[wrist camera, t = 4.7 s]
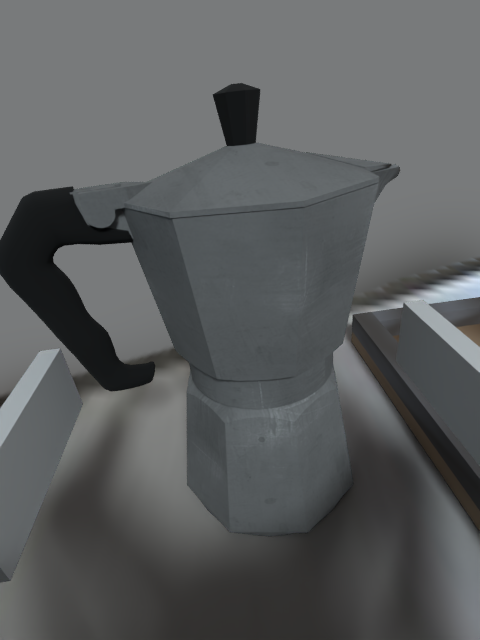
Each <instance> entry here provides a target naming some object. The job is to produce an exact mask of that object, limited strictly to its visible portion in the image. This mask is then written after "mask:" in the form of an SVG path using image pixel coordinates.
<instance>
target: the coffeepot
mask: <svg viewBox="0 0 480 640" xmlns="http://www.w3.org/2000/svg"><path fill="white" fill-rule="evenodd" d="M213 97H214V101H215V104H216V108H217V112H218V115H219V119H220V122H221V126H222V130H223V134H224V137H225V141H226V145H227V146H226V147H223V148H221V149H219V150H217V151H214V152H212V153H210V154H208V155H205V156H203V157H201V158H199V159H197V160H194V161H192V162H190V163H188V164H185V165H183V166H181V167H179V168H177V169H174V170H172V171H170V172H168V173H166V174H163V175H161V176H159V177H157V178H155V179H152V180H150V181H148V182H120V183H113V184H106V185H99V186H93V187H85V188H80V189H73V187H65V188H58V189H50V190H43V191H35V192H32V193H30V194H28V195H26V196H24V197H23V198H22V199H21V201H20V203H19V205H18V207H17V209H16V211H15V213H14V215H13V216H12V218H11V220H10V223H9V225H8V226H7V228H6V230H5V232H4V234H3V236H2V238H1V240H0V275H1V276H2V277H3V278H4V280H5V281H6V282H7V284H8V285H9V286H10V288H11V289H13V291H14V292H15V293H16V294H17V295H19V297H20V298H22V300H23V301H24V302H26V304H27V305H28V306H29V307H30V308H31V309H32V310H33V311H34V312H35V313H36V314H37V315H38V316H39V318H40V319H41V320H42V321H44V323H45V324H46V325H47V326H48V328H50V330H51V331H52V332H53V333H54V334H55V335H56V337H57V338H58V339H59V340H60V341H61V342H62V343H63V344H64V345H65V346H66V347H67V348H68V349H69V350H70V351H71V353H72V354H74V356H75V357H76V358H77V359H78V360H79V361H80V363H81V364H82V365H83V366H84V367H85V368H86V369H87V370H88V372H89V373H90V374H91V375H92V376H93V377H94V378H95V379H96V380H97V381H98V382H99V383H100V384H101V386H102V387H103V388H104V389H106V390H109V391H119V390H125V389H130V388H134V387H138V386H141V385H144V384H147V383H150V382H151V381H152V380H153V377H154V373H155V364H154V362H149V363H146V364H137V365H128V364H124V363H123V362H121V361H120V360H119V359H118V357H117V356H116V353H115V349H114V346H113V344H112V341H111V338H110V336H109V334H108V332H107V331H106V330H105V329H104V328H103V327H102V326H101V325H100V324H99V323H97V322H96V321H95V320H94V319H93V318H92V317H91V316H90V315H89V313H88V312H87V310H86V309H85V307H84V304H83V303H82V300H81V298H80V296H79V294H78V292H77V290H76V289H75V287H74V285H73V284H72V282H71V281H70V279H69V278H68V277H67V276H66V275H65V273H64V272H62V271H61V270H60V269H59V268H58V267H57V266H56V265H55V264H54V262H53V256H54V253H55V252H56V251H57V249H58V248H60V247H62V246H64V245H74V244H98V245H101V244H115V243H129V242H132V245H133V247H134V249H135V252H136V255H137V257H138V260H139V262H140V265H141V267H142V269H143V272H144V274H145V277H146V279H147V282H148V284H149V286H150V289H151V292H152V294H153V296H154V299H155V301H156V304H157V306H158V309H159V311H160V314H161V316H162V318H163V320H164V323H165V326H166V328H167V331H168V333H169V335H170V338H171V340H172V343H173V345H174V348H175V350H176V351H177V352H178V353H179V354H180V355H181V356H182V357H183V358H184V359H186V360H187V361H188V362H189V364H190V370H191V372H190V376H189V381H188V388H187V485H188V486H189V487H190V489H191V490H192V491H193V492H194V493H195V494H196V495H197V496H198V498H199V499H200V500H201V502H202V503H203V504H204V506H205V507H206V508H207V510H208V511H209V512H210V513H211V514H212V515H214V516H215V517H216V518H217V519H218V520H219V521H220V522H221V523H222V524H223V525H224V526H225V527H226V528H227V529H228V531H229V532H234V533H243V534H252V535H261V536H278V535H288V534H291V533H308V532H309V531H310V530H311V529H312V528H313V527H314V526H315V525H316V524H317V523H318V522H319V521H320V520H322V519H323V518H324V517H325V516H326V515H327V514H329V513H330V512H331V511H332V510H333V508H334V507H335V506H336V504H337V503H338V502H339V500H340V499H341V497H342V496H343V495H344V494H345V493H346V491H347V490H348V489H349V488H350V487H351V486H352V485H353V478H352V472H351V466H350V460H349V454H348V448H347V442H346V436H345V430H344V424H343V418H342V412H341V406H340V400H339V394H338V388H337V382H336V376H335V371H334V367H333V352H334V351H335V350H336V349H337V348H338V347H339V346H340V345H341V344H342V343H343V340H344V335H345V331H346V326H347V322H348V318H349V313H350V309H351V304H352V300H353V295H354V291H355V286H356V281H357V278H358V273H359V268H360V264H361V260H362V255H363V251H364V246H365V242H366V237H367V233H368V228H369V224H370V220H371V215H372V210H373V206H374V203H375V201H376V200H377V198H378V196H379V195H380V193H381V191H382V190H383V188H384V187H385V185H386V184H387V183H388V182H390V181H391V180H392V179H394V178H396V177H397V176H398V174H399V172H400V167H399V166H397V165H396V164H394V165H391V164H389V163H381V162H374V161H367V160H360V159H352V158H345V157H338V156H330V155H323V154H316V153H308V152H306V153H304V152H300V151H295V150H290V149H285V148H280V147H275V146H270V145H265V144H261V143H256V132H257V120H258V110H259V99H260V89H258V88H255V87H252V86H249V85H246V84H243V83H240V84H239V83H238V84H231V85H229V86H227V87H225V88H224V89H222V90H220V91H218V92H217V93H215V94H213Z"/></svg>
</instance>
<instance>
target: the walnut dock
mask: <svg viewBox="0 0 480 640" xmlns="http://www.w3.org/2000/svg"><path fill="white" fill-rule="evenodd" d="M429 305H430V306H431V307H432V308H433V309H435V310H436V311H437V312H438V313H439V314H441V315H442V316H443V317H444V318H445V319H447V320H448V321H449V322H450V323H451V324H453V325H454V326H455V327H456V328H457V329H459V330H460V331H461V332H462V333H463V334H465V335H466V336H467V337H468V338H469V339H471V340H472V341H473V342H474V343H475V344H477V345H478V346H479V347H480V297H478V298H470V299H463V300H456V301H449V302H441V303H434V304H429ZM402 312H403V308H397V309H390V310H383V311H376V312H368V313H361V314H354V315H353V322H352V343H353V344H354V346H355V347H356V349H357V350H358V352H359V353H360V355H361V356H362V358H363V359H364V361H365V362H366V364H367V365H368V367H369V368H370V370H371V371H372V372H373V374H374V375H375V377H376V378H377V380H378V381H379V383H380V384H381V386H382V387H383V389H384V390H385V392H386V393H387V395H388V396H389V398H390V399H391V401H392V402H393V404H394V405H395V407H396V408H397V410H398V411H399V413H400V414H401V415H402V417H403V418H404V420H405V421H406V423H407V424H408V426H409V427H410V429H411V430H412V432H413V433H414V435H415V436H416V438H417V439H418V441H419V442H420V444H421V445H422V447H423V448H424V450H425V451H426V453H427V454H428V456H429V457H430V458H431V460H432V461H433V463H434V464H435V466H436V467H437V469H438V470H439V472H440V473H441V475H442V476H443V478H444V479H445V481H446V482H447V484H448V485H449V487H450V488H451V490H452V491H453V493H454V494H455V496H456V497H457V499H458V500H459V502H460V503H461V504H462V506H463V507H464V509H465V510H466V512H467V513H468V515H469V516H470V518H471V519H472V521H473V522H474V524H475V525H476V527H477V528H478V530H479V531H480V466H479V464H478V463H477V462H476V461H475V459H474V458H473V457H472V456H471V454H470V453H469V452H468V451H467V449H466V448H465V447H464V446H463V444H462V443H461V442H460V441H459V439H458V438H457V437H456V436H455V434H454V433H453V432H452V430H451V429H450V428H449V427H448V425H447V424H446V423H445V422H444V420H443V419H442V418H441V417H440V415H439V414H438V413H437V412H436V410H435V409H434V408H433V407H432V405H431V404H430V403H429V402H428V400H427V399H426V398H425V396H424V395H423V394H422V393H421V391H420V390H419V389H418V388H417V386H416V385H415V384H414V383H413V381H412V380H411V379H410V378H409V376H408V375H407V374H406V373H405V371H404V370H403V369H402V368H401V366H400V365H399V364H398V362H397V361H396V358H397V350H398V342H399V335H400V327H401V320H402Z"/></svg>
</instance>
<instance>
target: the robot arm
mask: <svg viewBox="0 0 480 640" xmlns="http://www.w3.org/2000/svg"><path fill="white" fill-rule="evenodd" d="M396 361H397V362H398V364H399V365H400V366H401V368H402V369H403V370H404V371H405V373H406V374H407V375H408V376H409V378H410V379H411V380H412V381H413V383H414V384H415V385H416V386H417V388H418V389H419V390H420V391H421V393H422V394H423V395H424V396H425V398H426V399H427V400H428V402H429V403H430V404H431V405H432V407H433V408H434V409H435V410H436V412H437V413H438V414H439V415H440V417H441V418H442V419H443V420H444V422H445V423H446V424H447V425H448V427H449V428H450V429H451V430H452V432H453V433H454V434H455V436H456V437H457V438H458V439H459V441H460V442H461V443H462V444H463V446H464V447H465V448H466V449H467V451H468V452H469V453H470V454H471V456H472V457H473V458H474V459H475V461H476V462H477V463H478V464H479V466H480V347H479V346H478V345H477V344H475V343H474V342H473V341H472V340H471V339H469V338H468V337H467V336H466V335H465V334H463V333H462V332H461V331H460V330H459V329H457V328H456V327H455V326H454V325H453V324H451V323H450V322H449V321H448V320H447V319H445V318H444V317H443V316H442V315H441V314H439V313H438V312H437V311H436V310H435V309H433V308H432V307H431V306H430V305H429V304H427V303H426V302H425V301H424V300H419V301H412V302H404V304H403V312H402V320H401V327H400V335H399V342H398V350H397V358H396ZM82 405H83V403H82V400H81V398H80V395H79V393H78V390H77V388H76V385H75V383H74V381H73V378H72V376H71V373H70V371H69V368H68V366H67V364H66V361H65V358H64V356H63V353H62V351H61V349H60V348H58V349H51V350H43V351H39V353H38V354H37V356H36V357H35V359H34V360H33V362H32V363H31V365H30V366H29V367H28V369H27V370H26V372H25V373H24V375H23V376H22V378H21V379H20V381H19V382H18V383H17V385H16V386H15V388H14V389H13V391H12V392H11V394H10V395H9V397H8V398H7V399H6V401H5V402H4V404H3V405H2V407H1V408H0V582H6V581H11V578H12V576H13V573H14V571H15V568H16V566H17V564H18V561H19V559H20V556H21V554H22V551H23V549H24V546H25V544H26V542H27V539H28V537H29V534H30V532H31V529H32V527H33V525H34V522H35V520H36V517H37V515H38V512H39V510H40V507H41V505H42V503H43V500H44V498H45V495H46V493H47V490H48V488H49V485H50V483H51V481H52V478H53V476H54V473H55V471H56V468H57V466H58V464H59V461H60V459H61V456H62V454H63V451H64V449H65V446H66V444H67V442H68V439H69V437H70V434H71V432H72V429H73V427H74V425H75V422H76V420H77V417H78V415H79V412H80V410H81V407H82Z"/></svg>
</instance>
